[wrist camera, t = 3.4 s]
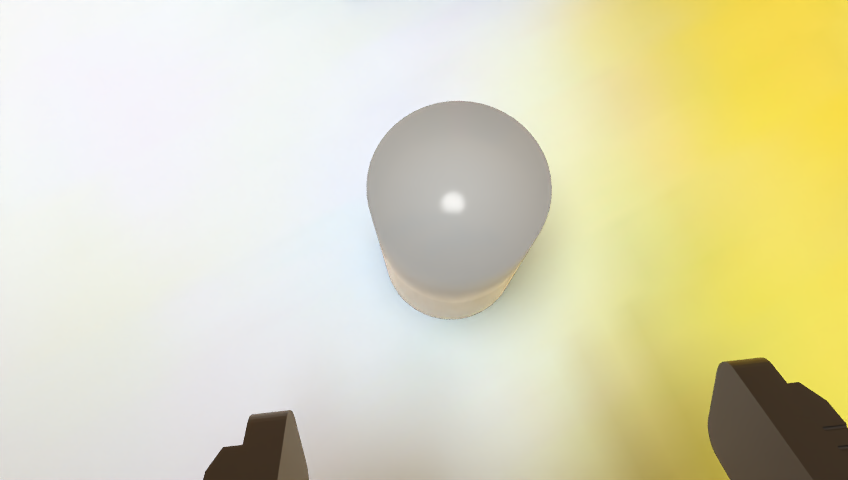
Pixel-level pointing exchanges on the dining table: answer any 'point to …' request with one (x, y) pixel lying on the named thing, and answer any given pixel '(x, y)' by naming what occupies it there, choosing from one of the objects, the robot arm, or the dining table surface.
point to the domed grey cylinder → (456, 205)
